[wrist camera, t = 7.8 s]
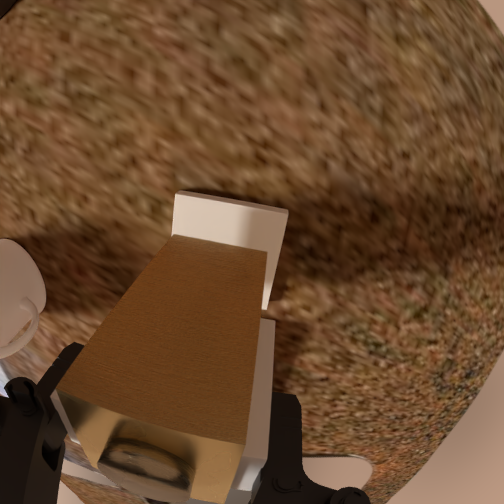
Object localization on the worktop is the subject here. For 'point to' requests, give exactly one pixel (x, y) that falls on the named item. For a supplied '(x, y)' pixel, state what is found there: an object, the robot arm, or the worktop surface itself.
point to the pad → (233, 226)
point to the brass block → (172, 373)
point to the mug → (18, 296)
